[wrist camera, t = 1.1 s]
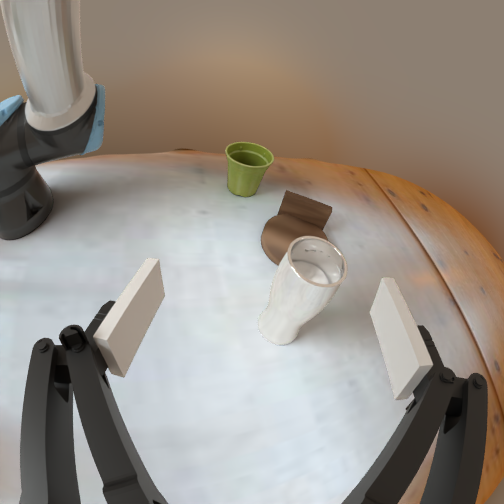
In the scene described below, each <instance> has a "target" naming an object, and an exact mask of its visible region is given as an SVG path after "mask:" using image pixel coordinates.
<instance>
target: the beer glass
mask: <svg viewBox="0 0 504 504" xmlns="http://www.w3.org/2000/svg"><path fill="white" fill-rule="evenodd" d="M346 275H347V263H346V260H345V258H344V256H343V254H342V253H341V252H340V250H339V249H338V248H337V247H335V246H334V245H333V244H332V243H330V242H328V241H327V240H324V239H322V238H319V237H315V236H303V237H299V238H297V239H295V240H294V241H293V242H292V243H291V244H290V245H289V248H288V250H287V252H286V253H285V255H284V256H283V258H282V260H281V262H280V264H279V266H278V268H277V270H276V272H275V275H274V277H273V280H272V285H271V289H270V295H269V302H268V306H267V308H266V309H265V310H263V311H262V313H261V314H260V315H259V318H258V330H259V332H260V334H261V335H262V337H263V338H264V339H265V340H267V341H268V342H270V343H272V344H275V345H285V344H288V343H290V342H292V341H293V340H294V339H295V338H296V337H297V335H298V333H299V331H300V328H301V326H302V325H303V324H305V323H306V322H308V321H309V320H311V319H312V318H313V317H315V316H316V315H317V314H318V313H320V312H321V311H322V310H323V309H324V308H325V307H326V306H327V304H328V303H329V302H330V301H331V299H332V298H333V296H334V295H335V293H336V292H337V290H338V289H339V287H340V285H341V283H342V282H343V280H344V279H345V277H346Z"/></svg>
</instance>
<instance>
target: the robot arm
mask: <svg viewBox="0 0 504 504" xmlns="http://www.w3.org/2000/svg"><path fill="white" fill-rule="evenodd" d="M0 5H1V10H2V15H3V19H4V24H5V28H6V32H7V36H8V39H9V43H10V46H11V50H12V53H13V56H14V60H15V63H16V66H17V69H18V71H19V74H20V77H21V80H22V82H23V85H24V88H25V91H26V93H27V96H28V100H27V102H25V103H23V101H24V100H23V98H22V96H21V95H17V96H13V97H10V98H8V99H6V100H4V101H3V102H1V103H0V238H2V239H6V240H11V239H17V238H20V237H22V236H24V235H26V234H28V233H30V232H31V231H33V230H34V229H36V228H37V227H38V226H39V225H40V224H41V223H42V222H43V221H44V220H45V219H46V217H47V216H48V215H49V213H50V211H51V209H52V206H53V197H52V194H51V190H50V188H49V186H48V185H47V183H46V182H45V181H44V179H43V178H42V177H41V175H40V174H39V172H38V171H37V170H36V167H35V165H38V164H41V163H45V162H49V161H53V160H57V159H61V158H65V157H69V156H74V155H78V154H79V155H83V154H85V153H87V152H91V151H95V150H97V149H98V148H99V147H100V146H101V144H102V141H103V131H104V122H103V121H104V111H105V87H104V86H103V85H98V84H94V81H93V79H92V78H91V76H90V75H88V74H87V73H85V72H83V62H82V50H81V34H80V0H0ZM164 297H165V293H164V287H163V282H162V276H161V269H160V263H159V259H153V258H147V259H146V261H145V262H144V263H143V265H142V266H141V267H140V269H139V270H138V271H137V273H136V274H135V275H134V277H133V278H132V280H131V281H130V282H129V284H128V285H127V287H126V288H125V289H124V291H123V292H122V294H121V295H120V297H119V298H118V300H117V301H109V302H107V303H106V304H104V305H103V306H102V307H101V309H100V310H99V312H98V314H97V315H96V316H95V317H94V319H93V320H92V322H91V323H90V325H89V326H88V328H87V329H86V331H85V332H84V331H83V329H82V327H80V326H79V325H70V326H68V327H66V328H64V329H63V330H62V331H61V333H60V335H59V339H60V341H61V343H62V345H54V343H53V341H52V340H51V339H49V338H43V339H40V340H39V341H37V342H36V343H35V344H34V347H33V350H32V355H31V359H30V364H29V370H28V375H27V381H26V388H25V395H24V403H23V412H22V424H21V443H20V470H21V488H22V493H21V497H20V502H19V504H81V502H80V495H79V489H78V482H77V474H76V465H75V454H74V438H73V392H74V396H75V400H76V404H77V408H78V412H79V415H80V419H81V422H82V426H83V429H84V432H85V436H86V439H87V442H88V445H89V448H90V450H91V453H92V456H93V459H94V461H95V464H96V466H97V469H98V471H99V474H100V476H101V479H102V481H103V484H104V486H103V494H104V497H105V499H106V501H107V503H108V504H168V503H167V501H166V500H165V498H164V497H163V496H162V495H161V493H160V492H159V491H158V489H157V488H156V486H155V485H154V483H153V481H152V479H151V477H150V476H149V474H148V472H147V470H146V468H145V466H144V464H143V462H142V460H141V458H140V456H139V454H138V452H137V450H136V448H135V446H134V444H133V442H132V440H131V437H130V435H129V433H128V431H127V428H126V426H125V424H124V421H123V419H122V417H121V414H120V412H119V409H118V406H117V404H116V401H115V399H114V396H113V393H112V390H111V387H110V385H109V382H108V379H107V376H106V374H105V371H106V370H107V368H109V370H110V372H111V374H114V375H117V376H121V377H125V375H126V373H127V371H128V369H129V367H130V364H131V362H132V360H133V358H134V356H135V354H136V352H137V350H138V348H139V346H140V344H141V342H142V340H143V338H144V336H145V334H146V332H147V330H148V328H149V326H150V324H151V322H152V320H153V318H154V316H155V314H156V312H157V310H158V308H159V306H160V304H161V302H162V300H163V299H164ZM370 315H371V318H372V321H373V324H374V327H375V331H376V334H377V337H378V340H379V344H380V347H381V350H382V354H383V357H384V361H385V364H386V368H387V372H388V375H389V379H390V383H391V387H392V391H393V395H394V399H395V400H401V399H408V398H409V396H410V395H411V394H412V393H413V394H414V397H415V398H414V400H413V401H412V402H411V403H410V404H409V405H408V407H407V408H406V410H407V409H408V410H407V411H406V413H405V415H404V417H403V418H402V420H401V422H400V424H399V425H398V427H397V429H396V430H395V432H394V434H393V435H392V437H391V438H390V440H389V442H388V443H387V445H386V446H385V448H384V449H383V451H382V452H381V454H380V455H379V456H378V458H377V459H376V461H375V462H374V464H373V465H372V466H371V468H370V469H369V470H368V472H367V473H366V474H365V476H364V477H363V478H362V480H361V481H360V482H359V483H358V485H357V486H356V487H355V488H354V490H353V491H352V492H351V493H350V494H349V496H348V497H347V498H346V499H345V500H344V501H343V502H342V504H397V503H398V502H399V500H400V499H401V497H402V496H403V494H404V493H405V491H406V490H407V488H408V486H409V485H410V483H411V482H412V480H413V478H414V476H415V475H416V473H417V471H418V469H419V468H420V466H421V464H422V462H423V460H424V458H425V456H426V454H427V452H428V450H429V448H430V446H431V444H432V442H433V440H434V438H435V436H436V434H437V431H438V429H439V427H440V429H439V434H438V439H437V444H436V449H435V453H434V458H433V462H432V466H431V469H430V473H429V477H428V480H427V483H426V487H425V490H424V493H423V496H422V499H421V502H420V504H475V502H476V498H477V494H478V489H479V485H480V479H481V474H482V468H483V461H484V453H485V444H486V432H487V408H488V393H487V382H486V380H485V378H484V377H483V376H482V375H480V374H478V373H473V374H471V375H470V376H469V378H468V379H464V378H459V377H456V375H455V374H454V372H453V371H452V370H451V369H449V368H446V367H444V365H443V363H442V360H441V358H440V356H439V353H438V351H437V349H436V347H435V344H434V342H433V341H432V338H431V335H430V333H429V332H428V331H427V329H426V328H425V327H424V326H423V325H422V326H417V325H416V323H415V321H414V319H413V316H412V314H411V312H410V310H409V308H408V306H407V304H406V302H405V300H404V298H403V296H402V294H401V292H400V290H399V288H398V286H397V284H396V282H395V280H394V278H388V277H382V279H381V282H380V285H379V288H378V291H377V294H376V297H375V299H374V302H373V305H372V308H371V310H370Z"/></svg>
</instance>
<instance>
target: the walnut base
mask: <svg viewBox="0 0 504 504" xmlns="http://www.w3.org/2000/svg"><path fill="white" fill-rule="evenodd" d="M331 213H332V207H331V206H328V205H325V204H323V203H320V202H317V201H315V200H312V199H309V198H307V197H304V196H301V195H298V194H296V193H293V192H290V191H287V190H286V192H285V195H284V198H283V201H282V204H281V206H280V209H279V212H278V215H277V216H274V217H272V218H271V219H270V220H268V221H267V223H266V224H265V227H264V230H263V233H262V236H261V245H262V248H263V250H264V252H265V254H266V255H267V256H268V258H269V259H270V260H271V261H273V262H274V263H275V264H276V265H278V266H279V264H280V262H281V260H282V258H283V256H284V255H285V253H286V252H287V250H288V248H289V245H290V244H291V243H292V242H293V241H294V240H295V239H297V238H299V237H303V236H315V237H319V238H322V239H324V240H327V241H328V239H327V237H326V235H325V233H324V232H323V231H322V230H323V228H324V226H325V224H326V222H327V221H328V219H329V217H330V215H331Z"/></svg>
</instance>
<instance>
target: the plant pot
mask: <svg viewBox="0 0 504 504" xmlns="http://www.w3.org/2000/svg"><path fill="white" fill-rule="evenodd" d="M225 152H226V156H227V160H228V183H227V186H228V189H229V191H230V192H231V193H233V194H235V195H241V196H243V197H249V196H252V195H254V194H255V193H256V191H257V188H258V186H259V184H260V182H261V180H262V177H263V175H264V173H265V171H266V170H267V169H268V167H269V166H270V165H271V164H272V163H273V161H274V156H273V155H272V153H271V152H270V151H269V150H268V149H266V148H265V147H263V146H260V145H257V144H254V143H250V142H236V143H232V144H230V145H229V146H227V148H226V150H225Z"/></svg>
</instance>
